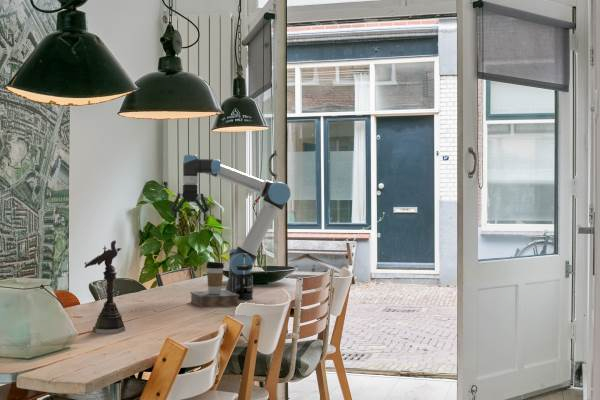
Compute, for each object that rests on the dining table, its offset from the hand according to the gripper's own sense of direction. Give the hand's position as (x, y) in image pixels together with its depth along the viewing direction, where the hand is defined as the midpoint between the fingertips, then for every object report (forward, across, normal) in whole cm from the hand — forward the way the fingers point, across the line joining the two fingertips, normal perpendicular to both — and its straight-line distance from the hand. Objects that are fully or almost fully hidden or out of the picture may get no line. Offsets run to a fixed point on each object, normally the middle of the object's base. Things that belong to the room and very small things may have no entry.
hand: (189, 224), depth 380 cm
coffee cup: (+32, +3, -36) cm, 48 cm away
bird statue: (+37, -58, -90) cm, 113 cm away
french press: (+37, +22, -23) cm, 49 cm away
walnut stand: (+37, +3, -36) cm, 51 cm away
